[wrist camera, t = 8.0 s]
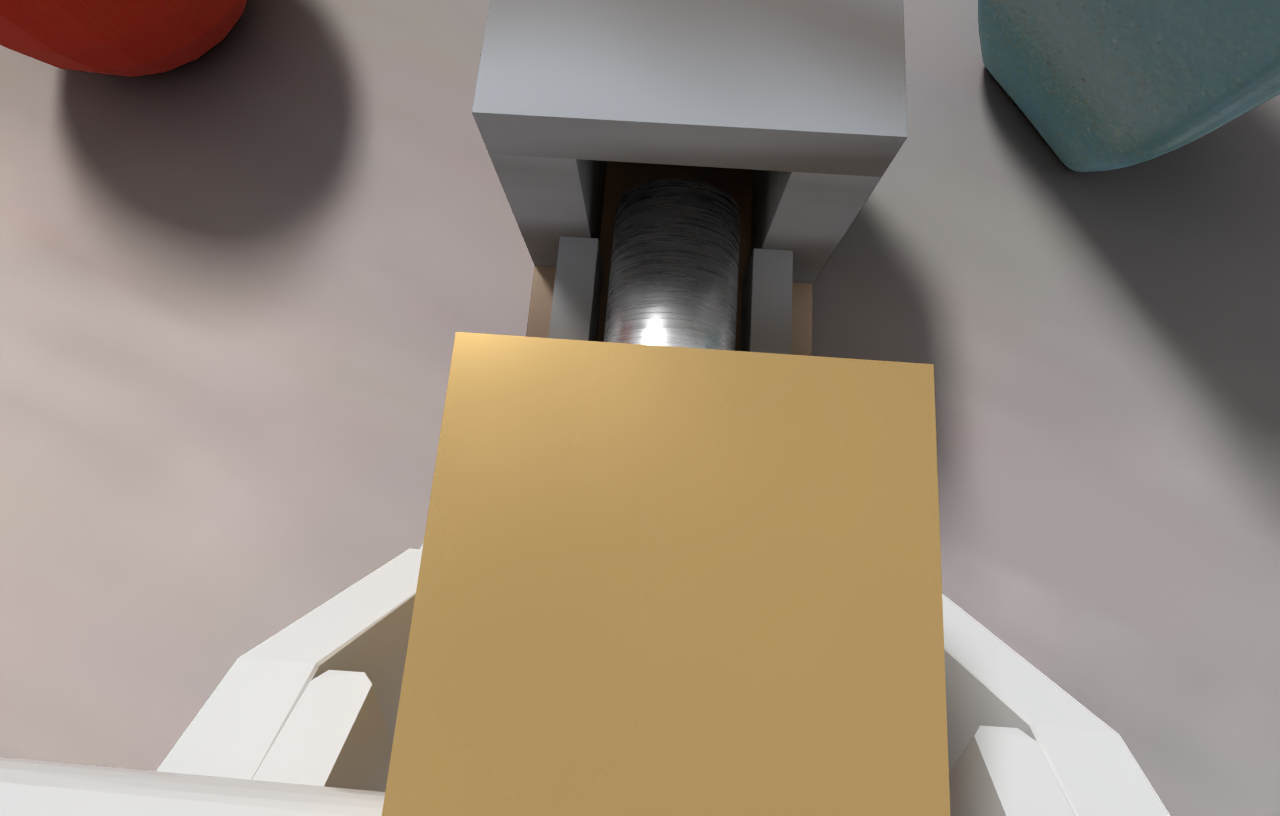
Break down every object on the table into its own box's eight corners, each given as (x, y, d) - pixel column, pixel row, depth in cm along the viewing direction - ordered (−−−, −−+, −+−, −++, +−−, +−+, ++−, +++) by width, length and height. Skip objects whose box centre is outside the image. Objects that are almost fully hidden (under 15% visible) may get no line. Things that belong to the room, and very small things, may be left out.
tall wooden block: (714, 620, 14) (973, 933, 3) (585, 610, 14) (352, 873, 3) (731, 250, 17) (917, -392, 5) (619, 243, 17) (557, -404, 5)
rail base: (797, 754, 15) (931, 946, 8) (486, 727, 15) (346, 890, 8) (806, 126, 19) (899, -118, 12) (561, 112, 19) (511, -136, 12)
